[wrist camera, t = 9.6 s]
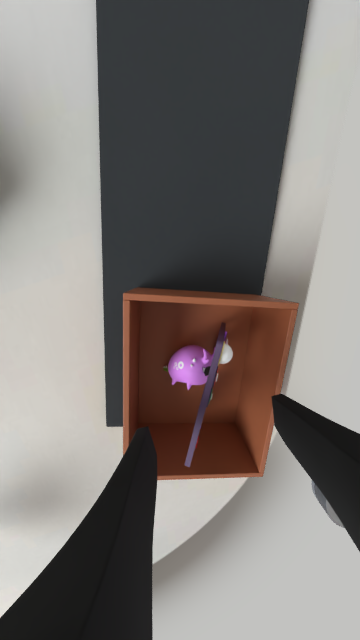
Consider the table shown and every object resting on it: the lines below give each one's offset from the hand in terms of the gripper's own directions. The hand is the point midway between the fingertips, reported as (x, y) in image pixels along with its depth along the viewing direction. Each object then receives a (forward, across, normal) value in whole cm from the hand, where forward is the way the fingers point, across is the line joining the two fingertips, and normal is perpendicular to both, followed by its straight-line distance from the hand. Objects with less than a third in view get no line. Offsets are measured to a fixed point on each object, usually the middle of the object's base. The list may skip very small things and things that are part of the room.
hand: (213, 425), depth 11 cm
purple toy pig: (+8, 0, 0) cm, 8 cm away
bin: (+8, 0, 0) cm, 8 cm away
